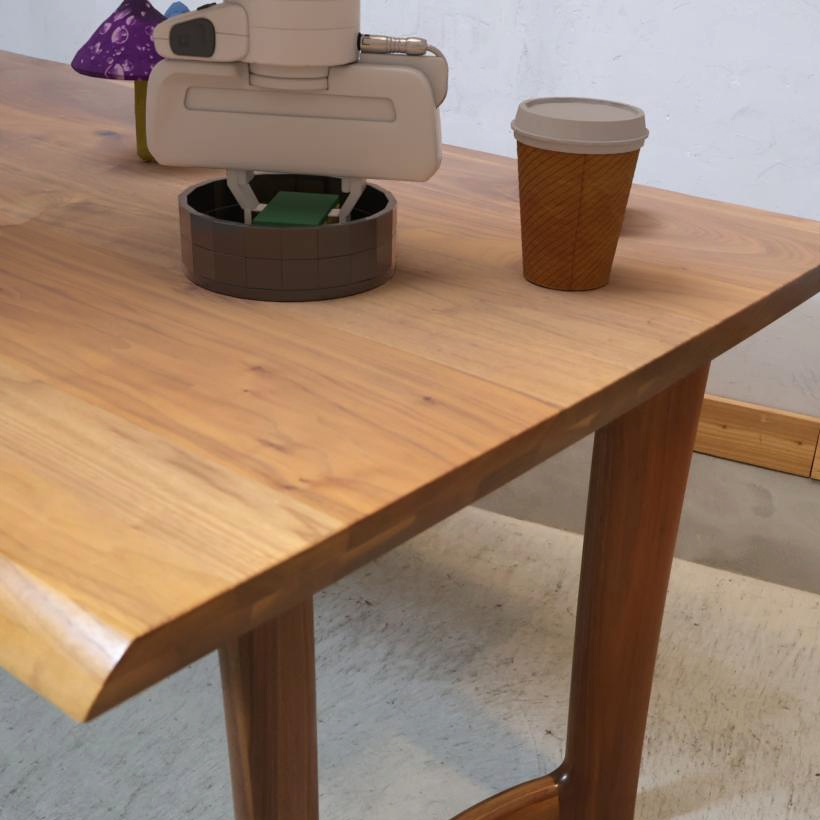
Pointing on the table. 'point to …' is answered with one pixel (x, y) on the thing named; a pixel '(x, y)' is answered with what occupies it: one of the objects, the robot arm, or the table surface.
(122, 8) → the decorative mushroom
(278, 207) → the sponge
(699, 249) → the table surface
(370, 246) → the bowl
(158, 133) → the robot arm
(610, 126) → the disposable coffee cup
